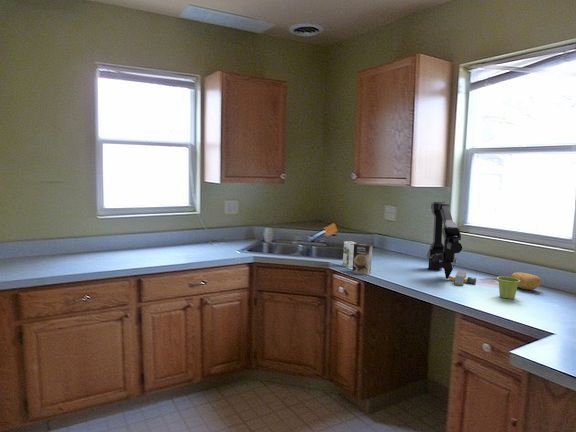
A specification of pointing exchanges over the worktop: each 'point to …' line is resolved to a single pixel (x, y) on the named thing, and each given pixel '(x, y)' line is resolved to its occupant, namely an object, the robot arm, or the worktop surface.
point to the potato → (527, 280)
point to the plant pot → (508, 287)
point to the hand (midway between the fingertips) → (446, 278)
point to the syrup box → (348, 253)
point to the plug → (468, 280)
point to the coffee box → (362, 258)
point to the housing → (460, 277)
